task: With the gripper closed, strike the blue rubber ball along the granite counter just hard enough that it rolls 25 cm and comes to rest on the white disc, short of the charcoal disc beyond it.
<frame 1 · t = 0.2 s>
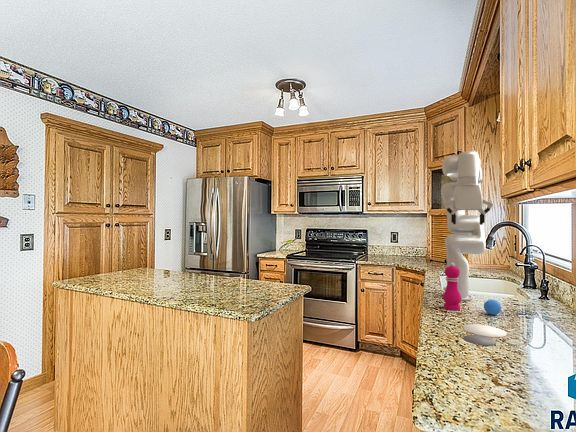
hand: (467, 224, 132), 37 cm above the countertop, tool pointing down, fingers open, 9 cm apart
pepper mill: (452, 309, 142), on the countertop
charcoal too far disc: (479, 340, 104), on the countertop
blue ball: (492, 307, 133), on the countertop
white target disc: (484, 330, 113), on the countertop
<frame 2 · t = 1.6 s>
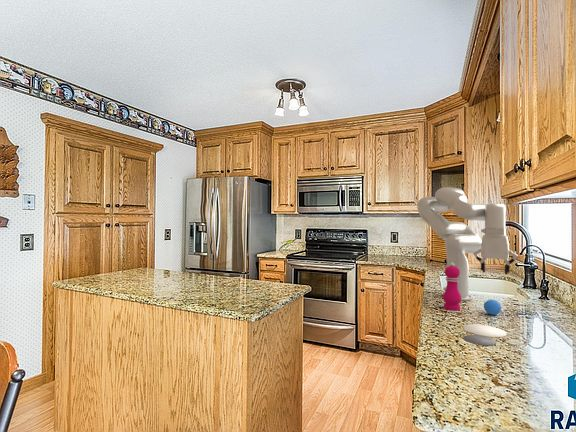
hand: (494, 272, 141), 16 cm above the countertop, tool pointing down, fingers open, 7 cm apart
nothing on the countertop moved.
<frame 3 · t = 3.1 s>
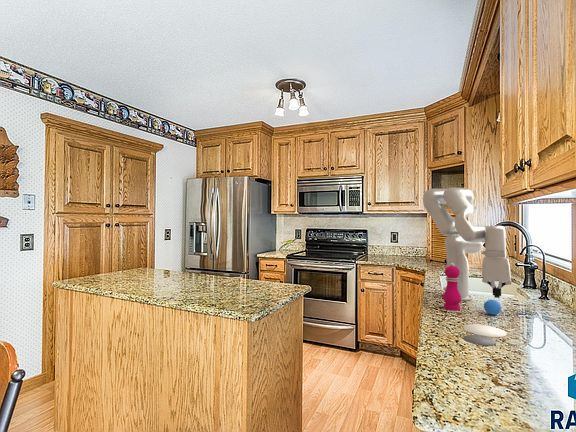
hand: (497, 297, 140), 6 cm above the countertop, tool pointing down, fingers closed
nothing on the countertop moved.
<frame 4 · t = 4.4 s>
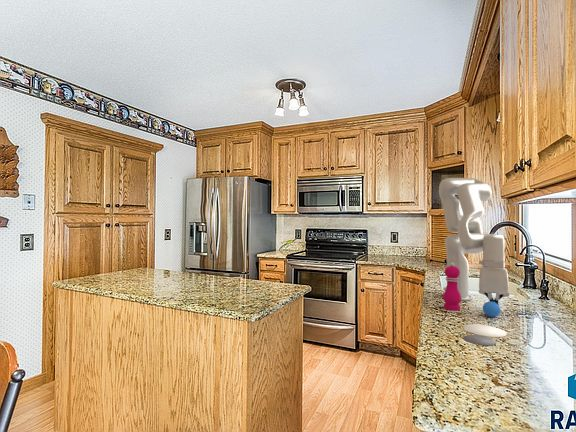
hand: (493, 309, 134), 2 cm above the countertop, tool pointing down, fingers closed
blue ball: (491, 309, 130), on the countertop
everything else where it was.
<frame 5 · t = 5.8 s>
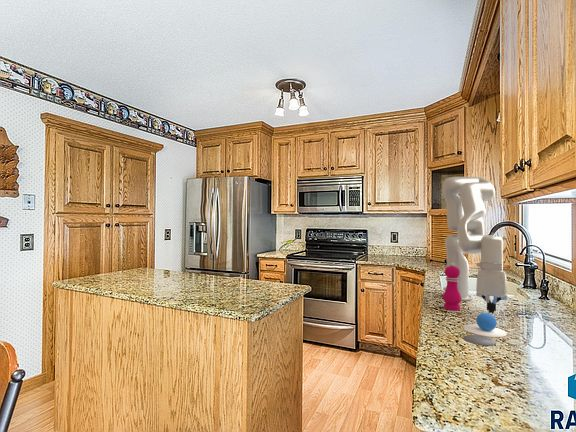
hand: (491, 312, 131), 2 cm above the countertop, tool pointing down, fingers closed
blue ball: (486, 321, 114), on the countertop
everything else where it was.
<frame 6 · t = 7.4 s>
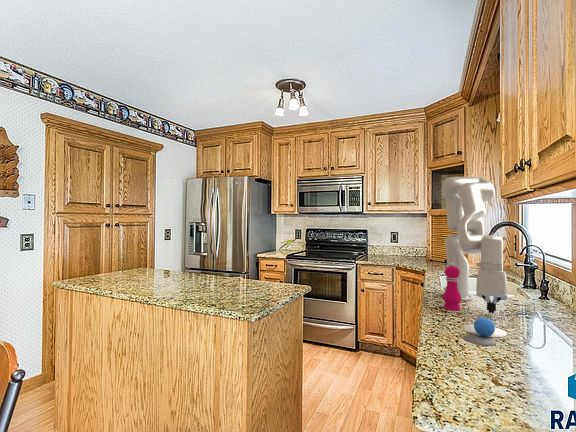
hand: (491, 312, 131), 2 cm above the countertop, tool pointing down, fingers closed
blue ball: (484, 327, 108), on the countertop
everything else where it was.
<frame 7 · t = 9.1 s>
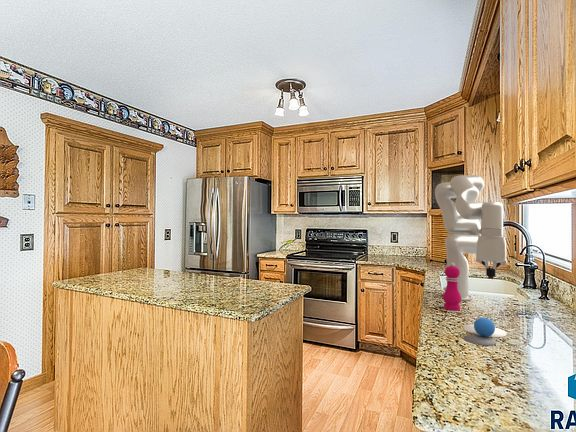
hand: (490, 278, 132), 15 cm above the countertop, tool pointing down, fingers closed
nothing on the countertop moved.
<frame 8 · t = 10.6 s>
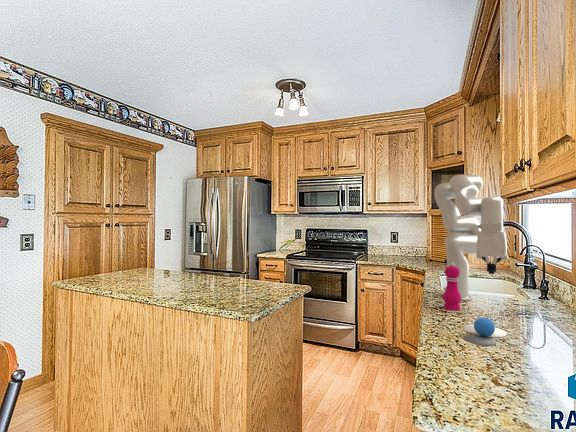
hand: (491, 273, 131), 17 cm above the countertop, tool pointing down, fingers closed
nothing on the countertop moved.
at the end: blue ball 6.4 cm from the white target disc (horizontally); blue ball at rest at the end (0.0 cm/s); blue ball moved 31.4 cm from its start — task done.
